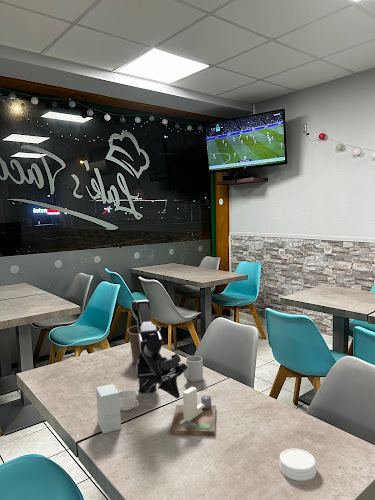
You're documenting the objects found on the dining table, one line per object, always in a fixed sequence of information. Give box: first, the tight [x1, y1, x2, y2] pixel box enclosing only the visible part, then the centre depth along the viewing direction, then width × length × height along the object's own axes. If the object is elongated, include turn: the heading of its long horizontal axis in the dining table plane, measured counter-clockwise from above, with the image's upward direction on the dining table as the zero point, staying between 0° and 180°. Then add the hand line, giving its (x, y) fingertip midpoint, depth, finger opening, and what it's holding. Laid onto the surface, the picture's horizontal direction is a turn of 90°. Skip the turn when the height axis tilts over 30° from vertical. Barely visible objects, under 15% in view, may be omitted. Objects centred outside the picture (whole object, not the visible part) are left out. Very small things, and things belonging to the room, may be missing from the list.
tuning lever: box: [180, 386, 212, 424], centre depth 137 cm, size 16×4×10 cm, turn 140°
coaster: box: [278, 448, 317, 482], centre depth 110 cm, size 10×10×4 cm
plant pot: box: [126, 324, 162, 365], centre depth 193 cm, size 16×16×16 cm
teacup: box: [118, 389, 140, 412], centre depth 146 cm, size 10×8×5 cm
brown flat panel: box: [170, 404, 217, 437], centre depth 136 cm, size 14×17×2 cm
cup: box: [182, 355, 204, 383], centre depth 170 cm, size 7×10×9 cm
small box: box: [95, 383, 122, 434], centre depth 134 cm, size 8×6×13 cm
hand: (178, 397), depth 138 cm, fingers closed
